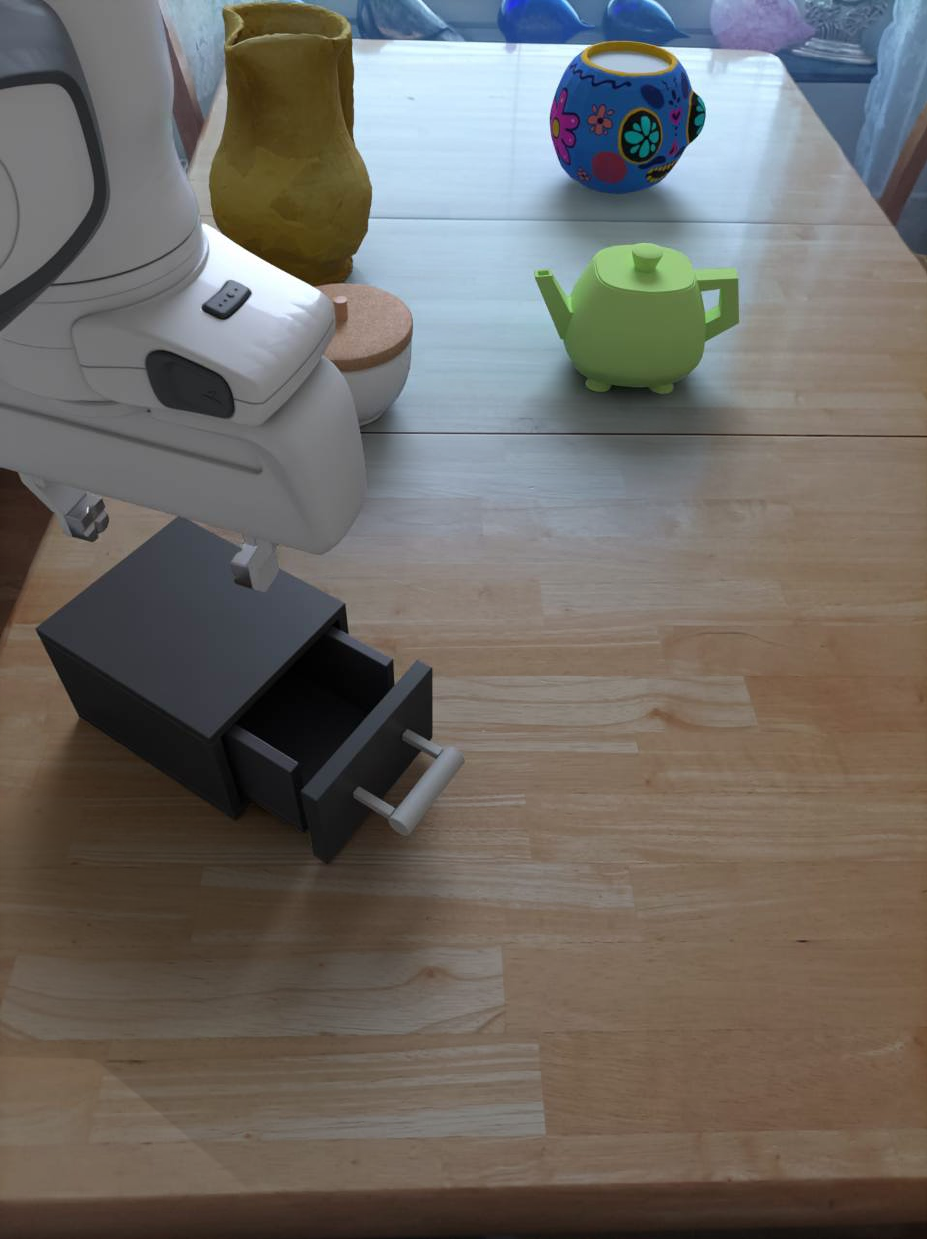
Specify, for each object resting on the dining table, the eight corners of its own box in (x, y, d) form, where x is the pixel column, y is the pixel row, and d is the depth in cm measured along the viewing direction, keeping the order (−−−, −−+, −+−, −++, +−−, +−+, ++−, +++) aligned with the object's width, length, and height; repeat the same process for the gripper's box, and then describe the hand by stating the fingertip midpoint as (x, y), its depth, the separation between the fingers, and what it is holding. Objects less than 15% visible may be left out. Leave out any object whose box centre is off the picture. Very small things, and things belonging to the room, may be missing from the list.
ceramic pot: (616, 230, 114) (636, 98, 102) (516, 178, 122) (524, 50, 111) (708, 190, 121) (736, 62, 110) (608, 144, 130) (625, 21, 118)
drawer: (485, 767, 62) (491, 698, 57) (384, 902, 56) (378, 841, 50) (281, 650, 69) (266, 577, 63) (168, 761, 62) (140, 691, 56)
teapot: (528, 404, 90) (539, 283, 81) (524, 327, 99) (534, 210, 90) (734, 410, 90) (770, 290, 81) (712, 333, 99) (742, 217, 90)
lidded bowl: (434, 384, 92) (435, 280, 84) (379, 460, 84) (374, 354, 76) (320, 354, 95) (310, 251, 86) (257, 425, 87) (238, 319, 79)
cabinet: (355, 691, 67) (345, 602, 60) (235, 821, 60) (209, 739, 53) (205, 606, 72) (179, 514, 65) (78, 717, 65) (34, 628, 58)
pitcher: (191, 250, 107) (156, -2, 88) (336, 219, 115) (332, -19, 96) (256, 324, 98) (233, 62, 79) (408, 286, 106) (420, 38, 87)
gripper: (-190, 283, 36) (-49, 544, 46) (299, 401, 31) (332, 658, 42) (-75, 211, 39) (31, 466, 50) (372, 308, 35) (386, 564, 46)
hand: (171, 555), depth 46 cm, fingers open, 8 cm apart
